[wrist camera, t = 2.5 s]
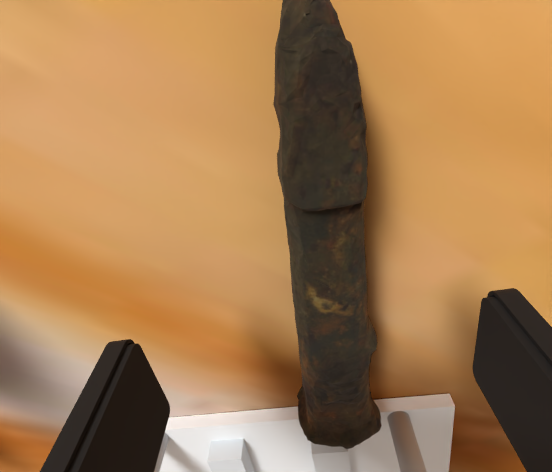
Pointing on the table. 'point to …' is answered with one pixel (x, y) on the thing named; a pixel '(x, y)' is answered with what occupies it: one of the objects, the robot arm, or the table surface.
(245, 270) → the table surface
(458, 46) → the table surface
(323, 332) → the dark brown rough rod
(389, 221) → the table surface
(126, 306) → the table surface
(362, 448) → the peg rack
